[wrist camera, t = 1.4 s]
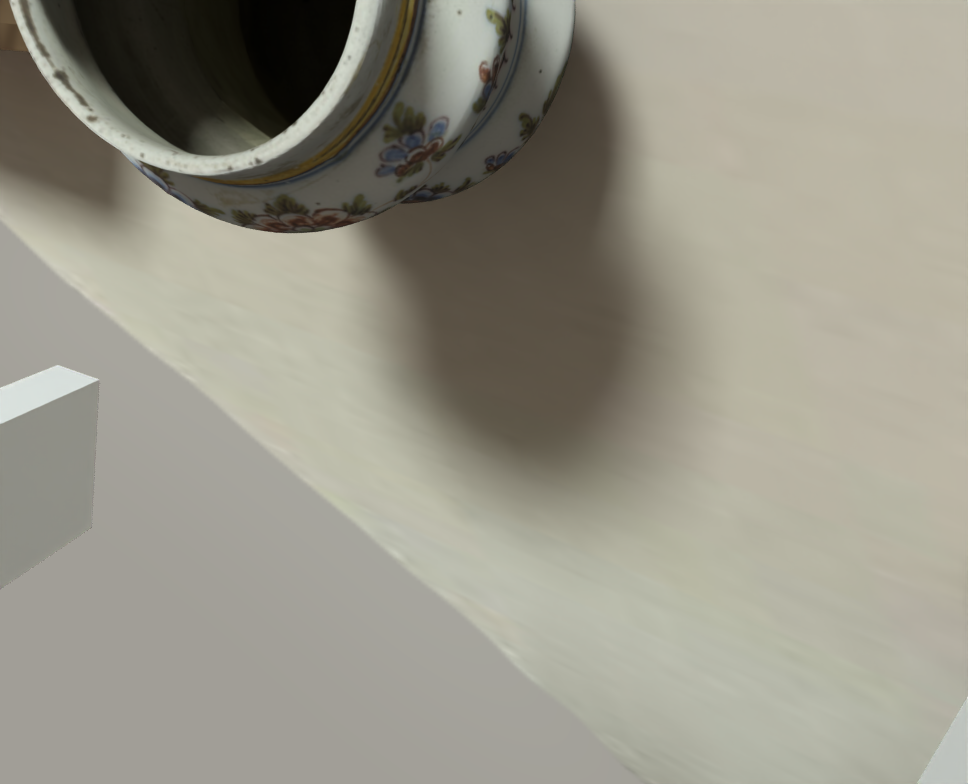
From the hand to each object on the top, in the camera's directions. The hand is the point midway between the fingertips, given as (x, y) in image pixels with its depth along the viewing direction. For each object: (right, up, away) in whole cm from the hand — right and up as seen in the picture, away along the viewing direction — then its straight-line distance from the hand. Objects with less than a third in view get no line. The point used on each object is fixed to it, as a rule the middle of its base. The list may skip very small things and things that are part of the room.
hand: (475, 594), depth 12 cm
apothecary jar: (-1, +17, +21) cm, 27 cm away
